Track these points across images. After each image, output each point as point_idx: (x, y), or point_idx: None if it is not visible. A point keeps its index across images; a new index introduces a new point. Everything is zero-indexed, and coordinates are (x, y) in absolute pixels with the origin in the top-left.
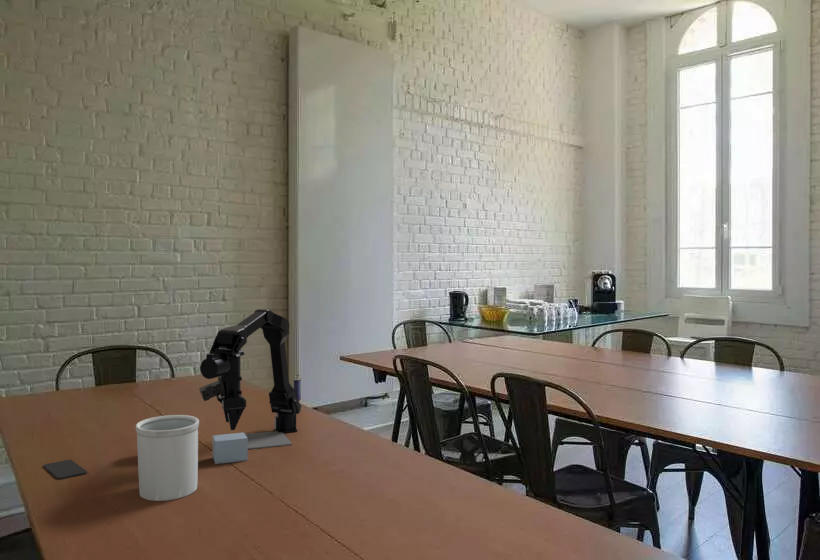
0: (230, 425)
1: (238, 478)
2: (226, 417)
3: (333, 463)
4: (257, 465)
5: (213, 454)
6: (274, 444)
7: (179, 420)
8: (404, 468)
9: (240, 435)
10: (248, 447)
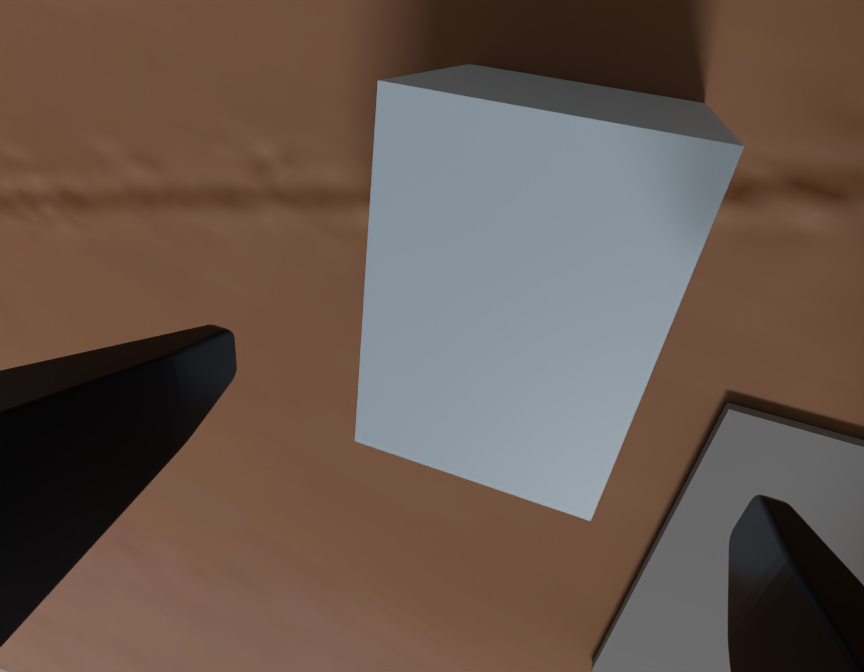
0: (129, 346)
1: (100, 127)
2: (775, 572)
3: (215, 581)
4: (302, 334)
5: (621, 94)
6: (649, 613)
7: None
8: (117, 656)
9: (486, 440)
10: (722, 476)
